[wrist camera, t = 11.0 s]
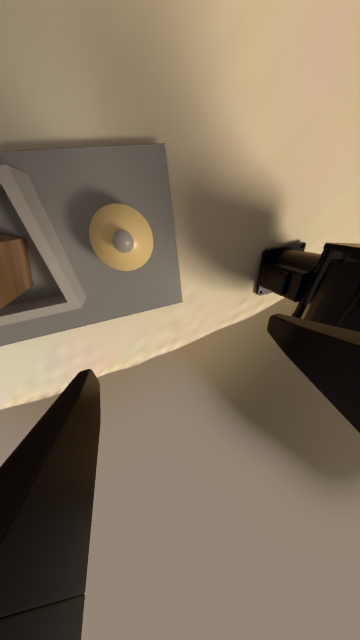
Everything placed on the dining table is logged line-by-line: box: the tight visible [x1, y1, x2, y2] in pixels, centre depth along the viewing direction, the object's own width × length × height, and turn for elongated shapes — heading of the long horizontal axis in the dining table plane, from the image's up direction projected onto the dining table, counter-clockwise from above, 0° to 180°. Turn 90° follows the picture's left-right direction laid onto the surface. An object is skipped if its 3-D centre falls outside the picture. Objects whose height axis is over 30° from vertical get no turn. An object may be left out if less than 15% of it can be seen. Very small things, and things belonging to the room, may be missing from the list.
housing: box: [0, 143, 183, 346], centre depth 14 cm, size 20×14×4 cm
